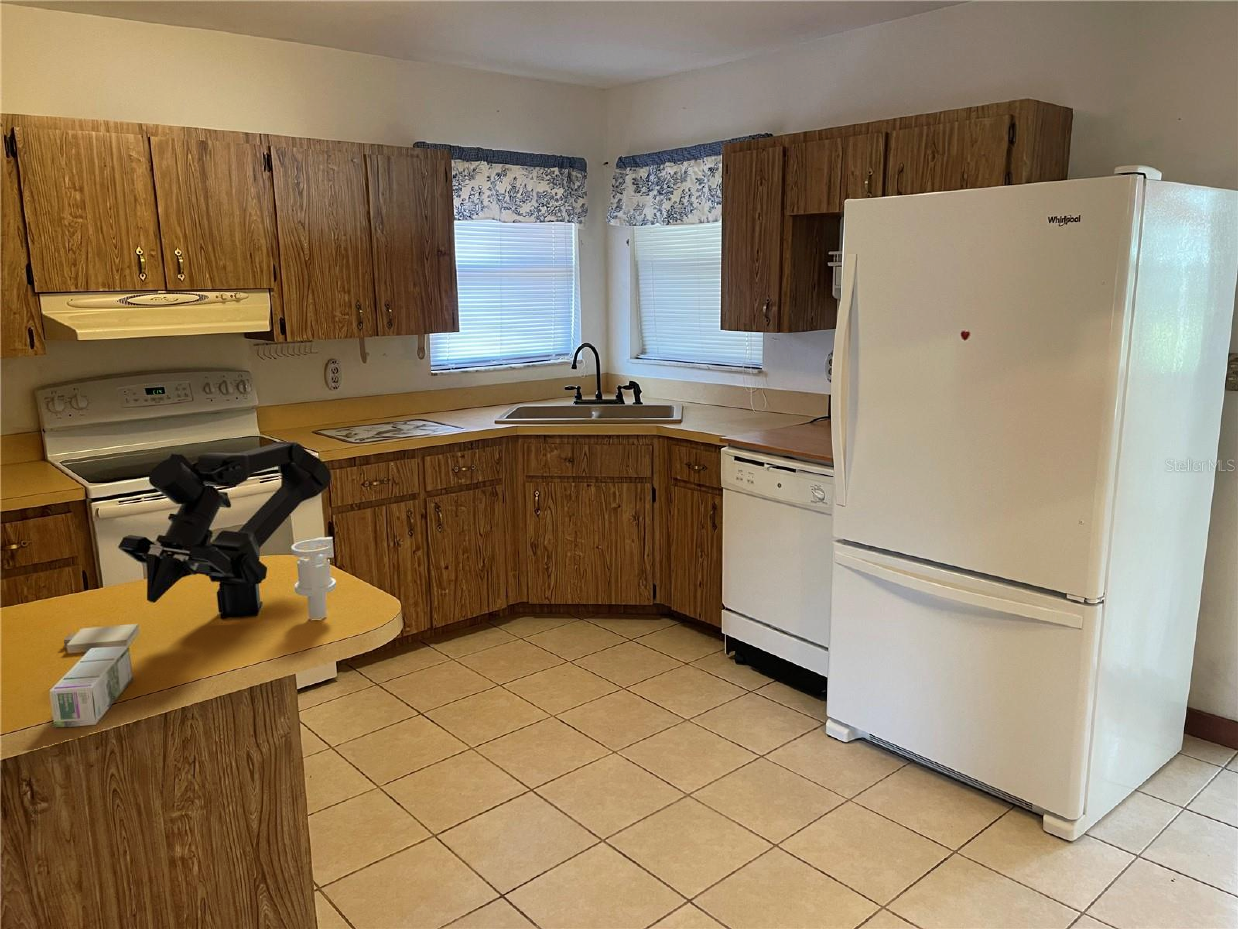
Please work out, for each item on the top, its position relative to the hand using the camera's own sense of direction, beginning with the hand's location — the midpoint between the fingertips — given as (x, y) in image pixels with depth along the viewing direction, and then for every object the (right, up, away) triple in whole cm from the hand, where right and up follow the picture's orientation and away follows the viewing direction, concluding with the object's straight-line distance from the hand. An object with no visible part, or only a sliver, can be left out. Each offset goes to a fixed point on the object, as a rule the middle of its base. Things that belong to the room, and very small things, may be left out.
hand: (150, 601), depth 145 cm
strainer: (+21, -6, +18) cm, 28 cm away
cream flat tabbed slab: (-12, -8, +7) cm, 16 cm away
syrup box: (-2, -8, -7) cm, 11 cm away
